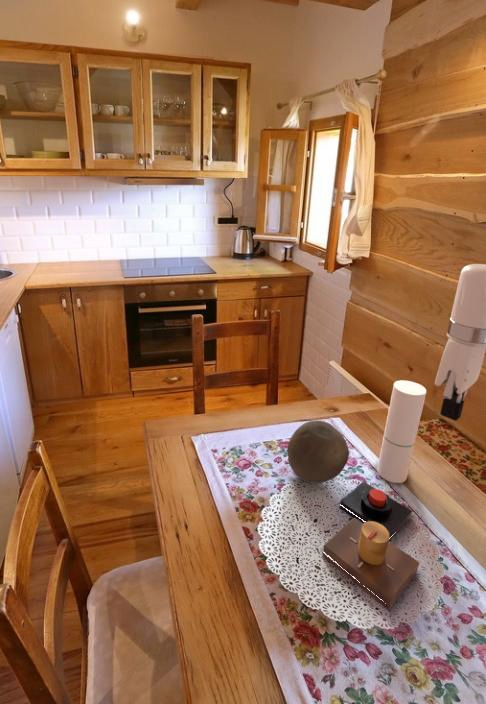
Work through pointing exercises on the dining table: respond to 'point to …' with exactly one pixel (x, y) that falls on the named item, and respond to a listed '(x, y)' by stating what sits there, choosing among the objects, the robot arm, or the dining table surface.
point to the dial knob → (373, 542)
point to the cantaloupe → (317, 452)
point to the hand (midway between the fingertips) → (449, 416)
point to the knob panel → (377, 578)
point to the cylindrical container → (401, 430)
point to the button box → (375, 509)
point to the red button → (377, 497)
